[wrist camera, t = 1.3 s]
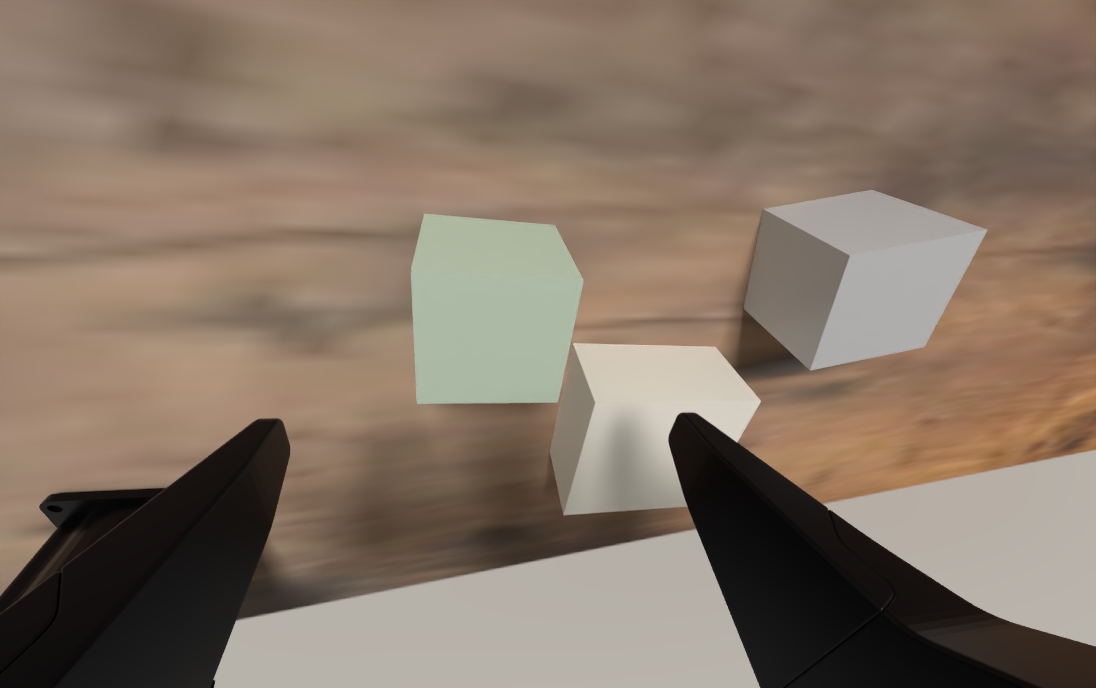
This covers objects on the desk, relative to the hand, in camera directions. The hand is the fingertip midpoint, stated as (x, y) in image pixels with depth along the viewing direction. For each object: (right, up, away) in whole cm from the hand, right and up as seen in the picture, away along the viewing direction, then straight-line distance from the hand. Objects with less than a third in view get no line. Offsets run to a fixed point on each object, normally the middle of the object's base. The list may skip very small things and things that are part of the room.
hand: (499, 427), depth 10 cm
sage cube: (-1, +4, +6) cm, 8 cm away
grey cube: (+12, +6, +8) cm, 15 cm away
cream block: (+5, -1, +11) cm, 13 cm away
